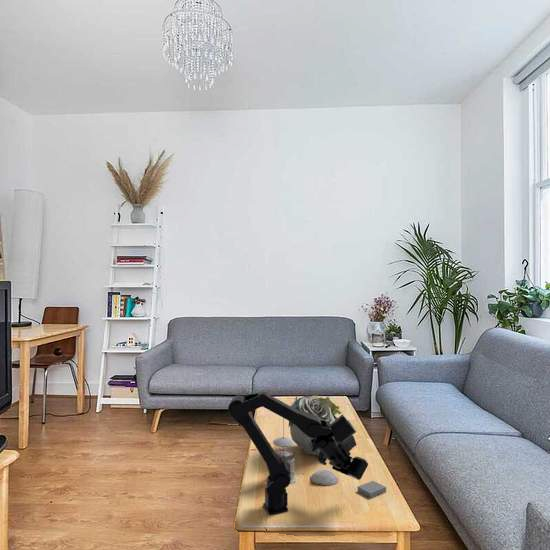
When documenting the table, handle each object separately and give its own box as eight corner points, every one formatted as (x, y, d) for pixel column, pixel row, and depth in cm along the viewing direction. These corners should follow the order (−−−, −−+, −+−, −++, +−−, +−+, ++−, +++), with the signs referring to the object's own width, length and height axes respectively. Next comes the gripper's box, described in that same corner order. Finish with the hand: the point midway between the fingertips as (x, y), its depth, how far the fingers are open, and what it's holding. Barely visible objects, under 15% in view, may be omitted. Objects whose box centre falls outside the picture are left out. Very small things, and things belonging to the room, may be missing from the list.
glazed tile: (370, 493, 143) (386, 487, 148) (357, 486, 148) (373, 480, 152) (370, 499, 143) (386, 492, 148) (357, 492, 148) (373, 486, 152)
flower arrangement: (309, 468, 166) (309, 406, 166) (274, 447, 186) (274, 392, 187) (355, 454, 179) (355, 397, 180) (318, 436, 200) (318, 385, 201)
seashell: (304, 472, 156) (319, 458, 163) (306, 486, 156) (321, 471, 164) (327, 480, 149) (341, 465, 156) (329, 494, 150) (343, 479, 157)
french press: (295, 473, 162) (296, 407, 162) (297, 487, 150) (297, 417, 150) (270, 473, 162) (270, 407, 162) (270, 487, 150) (270, 417, 150)
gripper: (363, 434, 134) (386, 462, 139) (323, 421, 149) (345, 447, 154) (346, 465, 128) (371, 493, 134) (306, 448, 143) (330, 474, 149)
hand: (353, 475), depth 143 cm, fingers closed
